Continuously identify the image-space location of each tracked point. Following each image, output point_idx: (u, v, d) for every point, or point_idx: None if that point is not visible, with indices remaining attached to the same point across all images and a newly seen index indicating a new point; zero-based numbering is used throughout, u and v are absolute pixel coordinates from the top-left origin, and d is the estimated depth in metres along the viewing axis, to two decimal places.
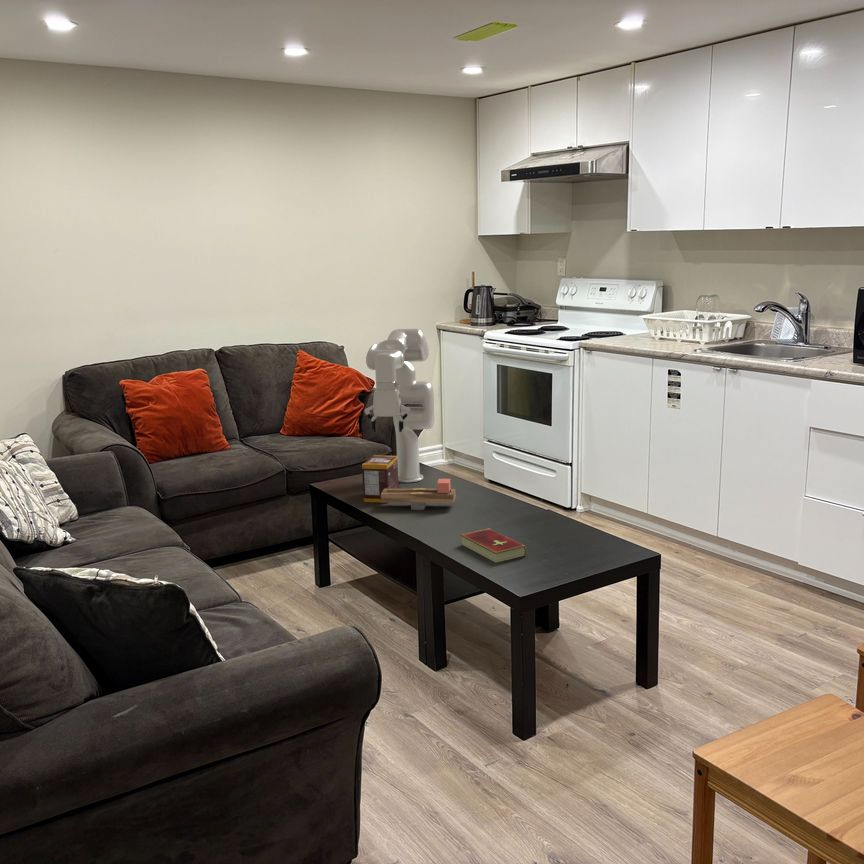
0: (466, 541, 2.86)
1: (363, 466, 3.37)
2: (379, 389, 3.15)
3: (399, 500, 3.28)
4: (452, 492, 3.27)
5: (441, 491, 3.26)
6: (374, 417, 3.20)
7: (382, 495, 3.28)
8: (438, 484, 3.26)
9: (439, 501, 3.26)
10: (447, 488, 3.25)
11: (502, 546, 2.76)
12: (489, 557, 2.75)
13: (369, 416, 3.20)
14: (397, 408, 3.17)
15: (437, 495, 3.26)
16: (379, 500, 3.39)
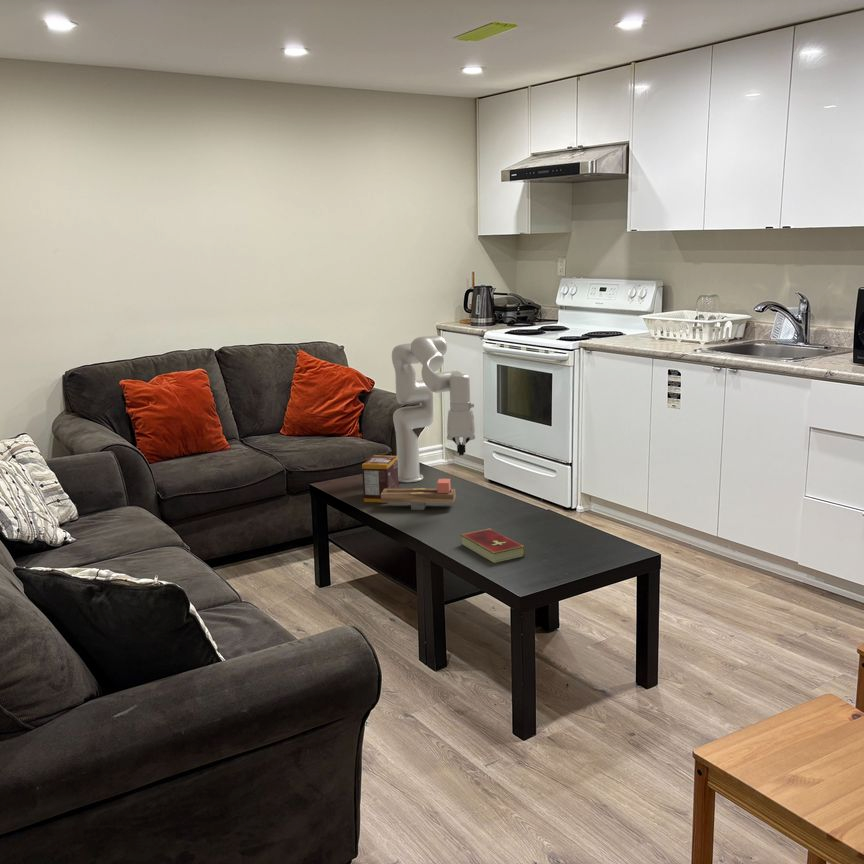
0: (466, 540, 2.86)
1: (363, 466, 3.37)
2: (454, 410, 3.18)
3: (399, 500, 3.28)
4: (452, 492, 3.27)
5: (441, 491, 3.26)
6: (457, 440, 3.23)
7: (382, 495, 3.28)
8: (438, 484, 3.26)
9: (439, 501, 3.26)
10: (447, 488, 3.25)
11: (501, 546, 2.76)
12: (488, 557, 2.75)
13: (454, 440, 3.23)
14: (471, 429, 3.20)
15: (437, 495, 3.26)
16: (379, 500, 3.39)
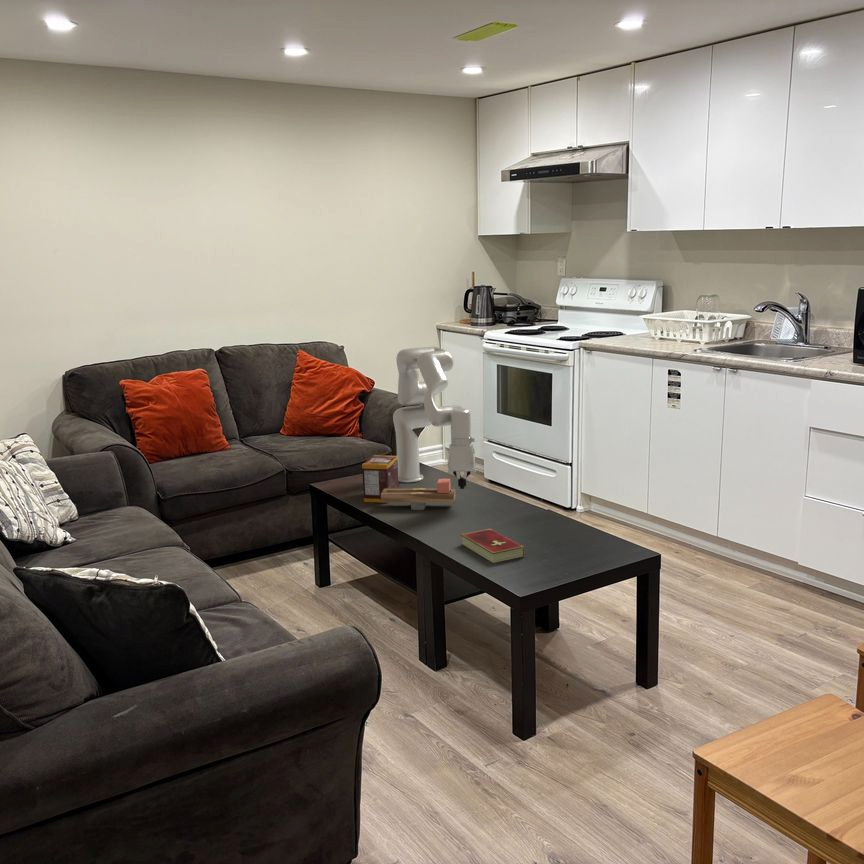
0: (466, 540, 2.86)
1: (363, 466, 3.37)
2: (455, 445, 3.21)
3: (399, 500, 3.28)
4: (452, 492, 3.27)
5: (441, 491, 3.26)
6: (458, 474, 3.25)
7: (382, 495, 3.28)
8: (438, 484, 3.26)
9: (439, 501, 3.26)
10: (447, 488, 3.25)
11: (500, 546, 2.76)
12: (487, 557, 2.75)
13: (455, 473, 3.26)
14: (472, 463, 3.23)
15: (437, 495, 3.26)
16: (379, 500, 3.39)
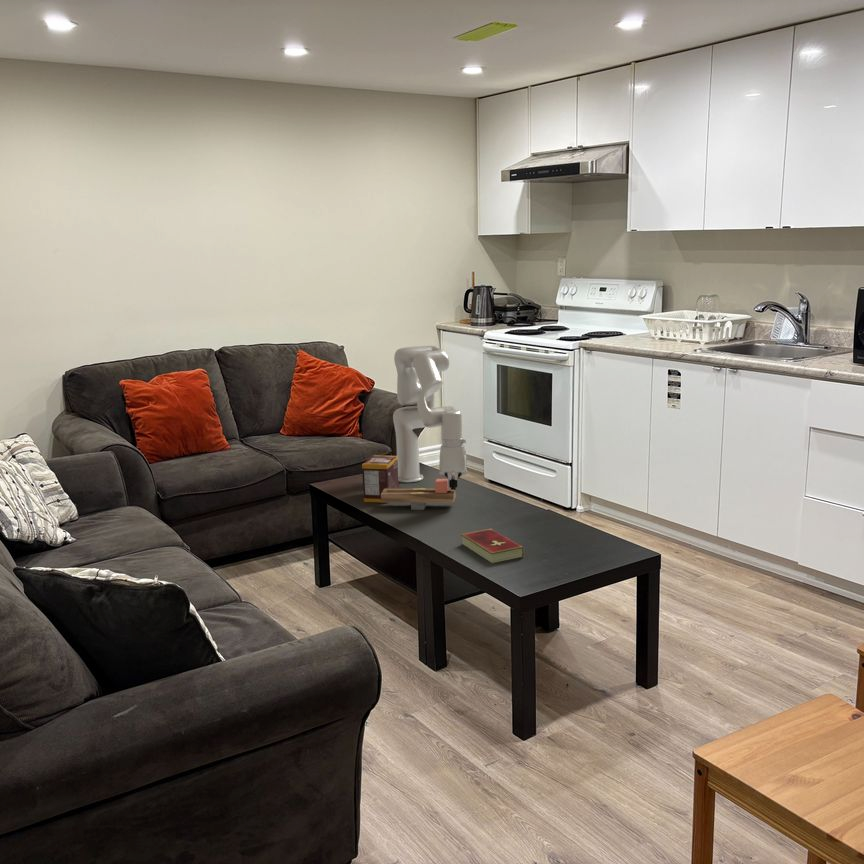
0: (466, 540, 2.86)
1: (363, 466, 3.37)
2: (446, 446, 3.22)
3: (399, 500, 3.28)
4: (452, 492, 3.27)
5: (439, 491, 3.26)
6: (449, 475, 3.26)
7: (382, 495, 3.28)
8: (436, 484, 3.26)
9: (439, 501, 3.26)
10: (445, 488, 3.26)
11: (499, 547, 2.75)
12: (486, 557, 2.75)
13: (446, 475, 3.27)
14: (463, 464, 3.24)
15: (437, 495, 3.26)
16: (379, 500, 3.39)
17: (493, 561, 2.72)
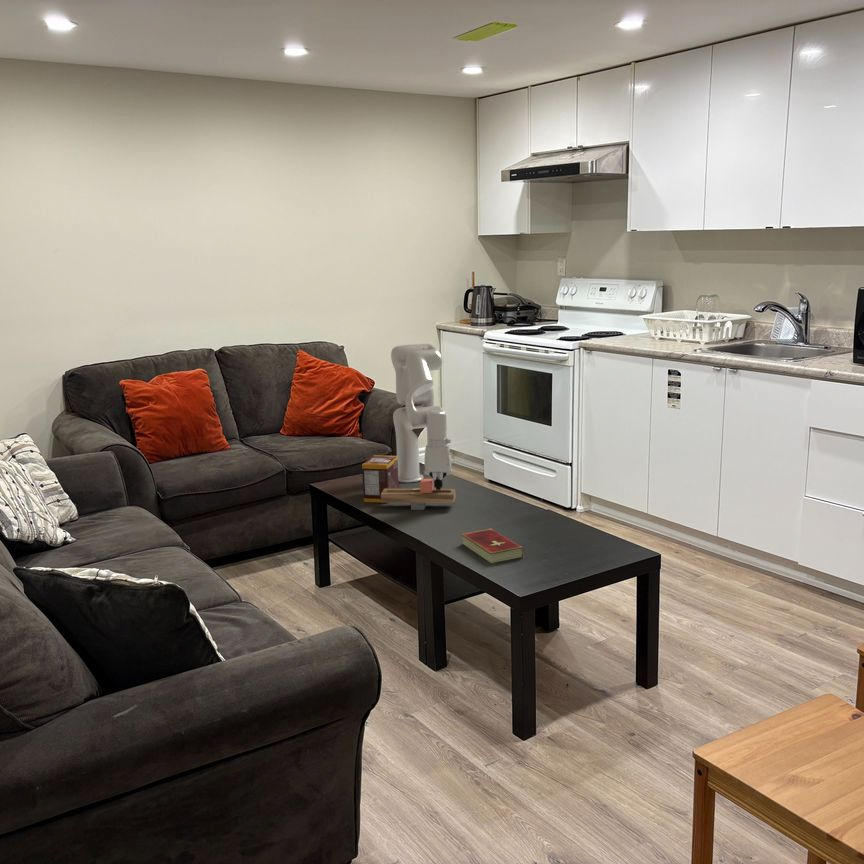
0: (466, 540, 2.86)
1: (363, 466, 3.37)
2: (431, 446, 3.23)
3: (399, 500, 3.28)
4: (452, 492, 3.27)
5: (424, 491, 3.27)
6: (434, 475, 3.27)
7: (382, 495, 3.28)
8: (421, 484, 3.26)
9: (439, 501, 3.26)
10: (430, 488, 3.26)
11: (499, 547, 2.75)
12: (485, 557, 2.75)
13: (431, 475, 3.27)
14: (448, 464, 3.24)
15: (437, 495, 3.26)
16: (379, 500, 3.39)
17: (492, 561, 2.71)
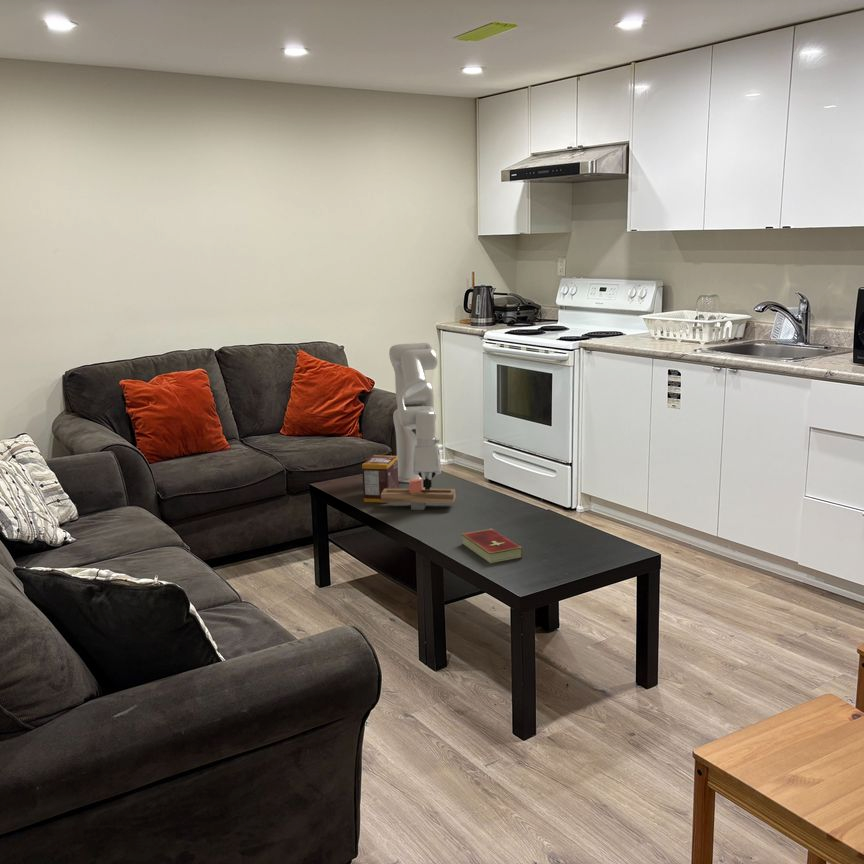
0: (466, 540, 2.86)
1: (363, 466, 3.37)
2: (419, 446, 3.23)
3: (399, 500, 3.28)
4: (452, 492, 3.27)
5: (413, 491, 3.27)
6: (423, 475, 3.27)
7: (382, 495, 3.28)
8: (410, 484, 3.27)
9: (439, 501, 3.26)
10: (419, 488, 3.27)
11: (498, 547, 2.75)
12: (485, 557, 2.75)
13: (420, 474, 3.28)
14: (437, 464, 3.25)
15: (437, 495, 3.26)
16: (379, 500, 3.39)
17: (491, 561, 2.71)
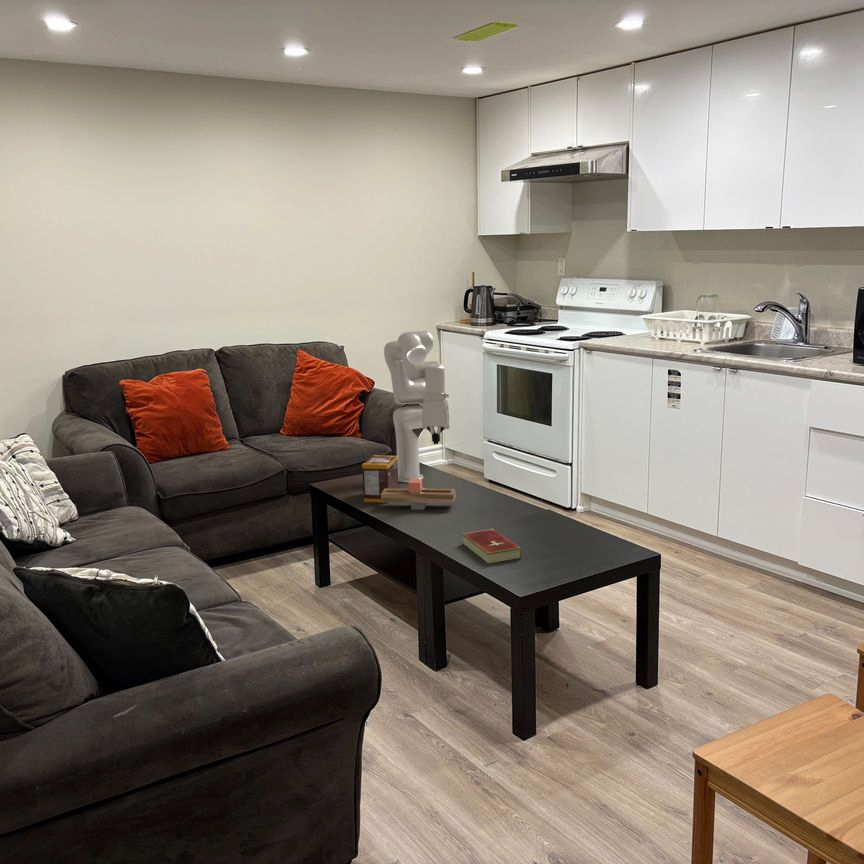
0: (466, 540, 2.87)
1: (363, 466, 3.37)
2: (428, 400, 3.25)
3: (399, 500, 3.28)
4: (452, 492, 3.27)
5: (412, 491, 3.27)
6: (431, 429, 3.29)
7: (382, 495, 3.28)
8: (409, 484, 3.27)
9: (439, 501, 3.26)
10: (418, 488, 3.27)
11: (497, 547, 2.75)
12: (483, 557, 2.75)
13: (429, 429, 3.30)
14: (445, 418, 3.27)
15: (437, 495, 3.26)
16: (379, 500, 3.39)
17: (489, 561, 2.71)
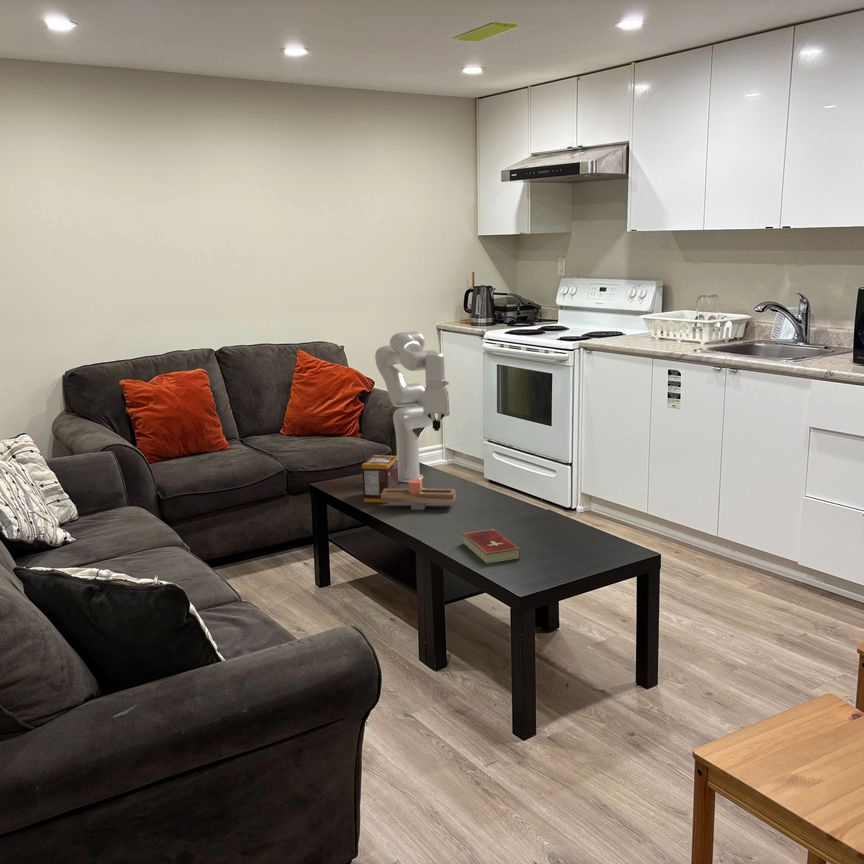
0: (466, 540, 2.87)
1: (363, 466, 3.37)
2: (429, 387, 3.33)
3: (399, 500, 3.28)
4: (452, 492, 3.27)
5: (412, 491, 3.27)
6: (432, 416, 3.37)
7: (382, 495, 3.28)
8: (409, 484, 3.27)
9: (439, 501, 3.26)
10: (418, 488, 3.27)
11: (496, 547, 2.75)
12: (482, 557, 2.75)
13: (430, 416, 3.38)
14: (446, 405, 3.35)
15: (437, 495, 3.26)
16: (379, 500, 3.39)
17: (488, 561, 2.71)
